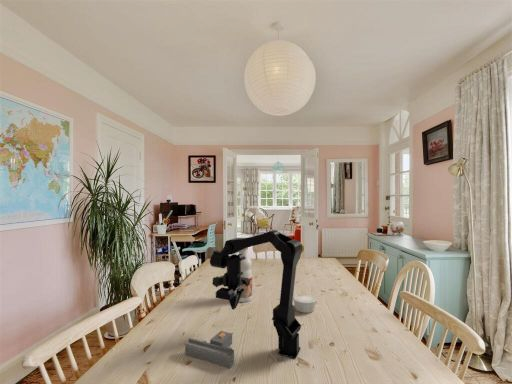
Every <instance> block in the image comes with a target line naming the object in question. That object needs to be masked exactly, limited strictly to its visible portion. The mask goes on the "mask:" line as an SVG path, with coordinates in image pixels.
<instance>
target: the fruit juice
mask: <svg viewBox="0 0 512 384" xmlns="http://www.w3.org/2000/svg"><path fill="white" fill-rule="evenodd" d="M248 250H249V247H248V248H246V249H244V250H242V251H240V252H238V254H241V253H242V255H243V256H244V257H245V258H246V259H244V260H242V261H241V272H243V274H242V275H241V277H244V278H248V279H249V280H250V285H249V286H246V285H245V284H243V285H242V286H241V289H244V291H243V293H242V296H241V298H240V300H239V302H238V303H248V302H250V301H252V298H253V272H252V264H253V263H252V259H251V258H250V256H249V254H248Z"/></svg>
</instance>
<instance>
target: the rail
mask: <svg viewBox="0 0 512 384" xmlns="http://www.w3.org/2000/svg"><path fill="white" fill-rule="evenodd" d="M184 345H185V346H184V347H185V349H184V355H185V356H188V357H190V358H194V359H198V360H200V361H201V360H202V361H205V362H208V363H211V364H215V365H218V366H222V367H225V368H227V369H231V368H232V367H233V366H234V365H235V349H233V347H231V346H229V347H227V348H225V347H221V346H218V345H214V344H210V342H207V340H204V339H203V340H202V341H201V340H198V339H193V338H190V337H189V338H188V339H187V342H185V343H184Z"/></svg>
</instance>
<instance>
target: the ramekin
mask: <svg viewBox="0 0 512 384" xmlns="http://www.w3.org/2000/svg"><path fill="white" fill-rule="evenodd" d="M316 303H317V298H316V297H315V296H313V295H310V294H296V295H293V306H294V310H296V311H298V312H300V313H305V314H309V313H313V312H314V311H315V309H316Z"/></svg>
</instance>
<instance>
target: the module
mask: <svg viewBox="0 0 512 384" xmlns="http://www.w3.org/2000/svg"><path fill="white" fill-rule="evenodd" d="M209 343H210V344H214V345H218V346H221V347H225V348H227V347H231V345H233V333H232V332H226V331H224V330H220V331H219V332H217V333H216V334H215V335H214V336H213V337H212V338H211V339H209Z"/></svg>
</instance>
